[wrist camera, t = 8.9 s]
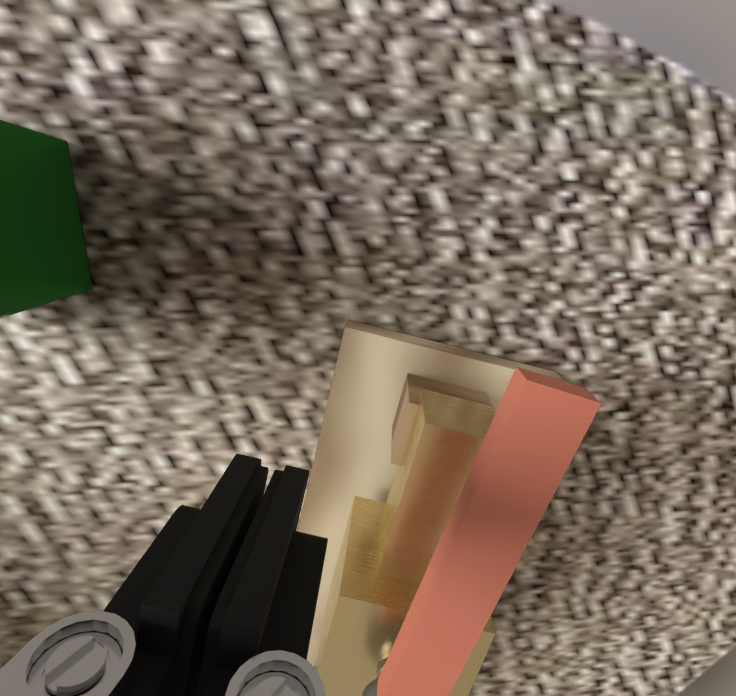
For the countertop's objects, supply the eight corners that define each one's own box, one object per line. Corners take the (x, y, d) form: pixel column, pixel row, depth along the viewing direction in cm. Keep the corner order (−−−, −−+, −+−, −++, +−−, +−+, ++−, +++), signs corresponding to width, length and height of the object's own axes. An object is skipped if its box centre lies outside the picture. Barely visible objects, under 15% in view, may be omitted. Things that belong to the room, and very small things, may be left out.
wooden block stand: (305, 675, 26) (274, 830, 19) (389, 369, 20) (385, 445, 13) (403, 699, 26) (405, 862, 19) (517, 401, 20) (574, 492, 13)
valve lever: (418, 733, 16) (420, 771, 15) (353, 714, 16) (349, 751, 15) (594, 389, 12) (614, 408, 11) (505, 361, 12) (516, 377, 11)
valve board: (275, 631, 29) (251, 713, 24) (348, 319, 22) (334, 348, 18) (435, 671, 29) (442, 760, 24) (555, 371, 22) (597, 414, 18)
